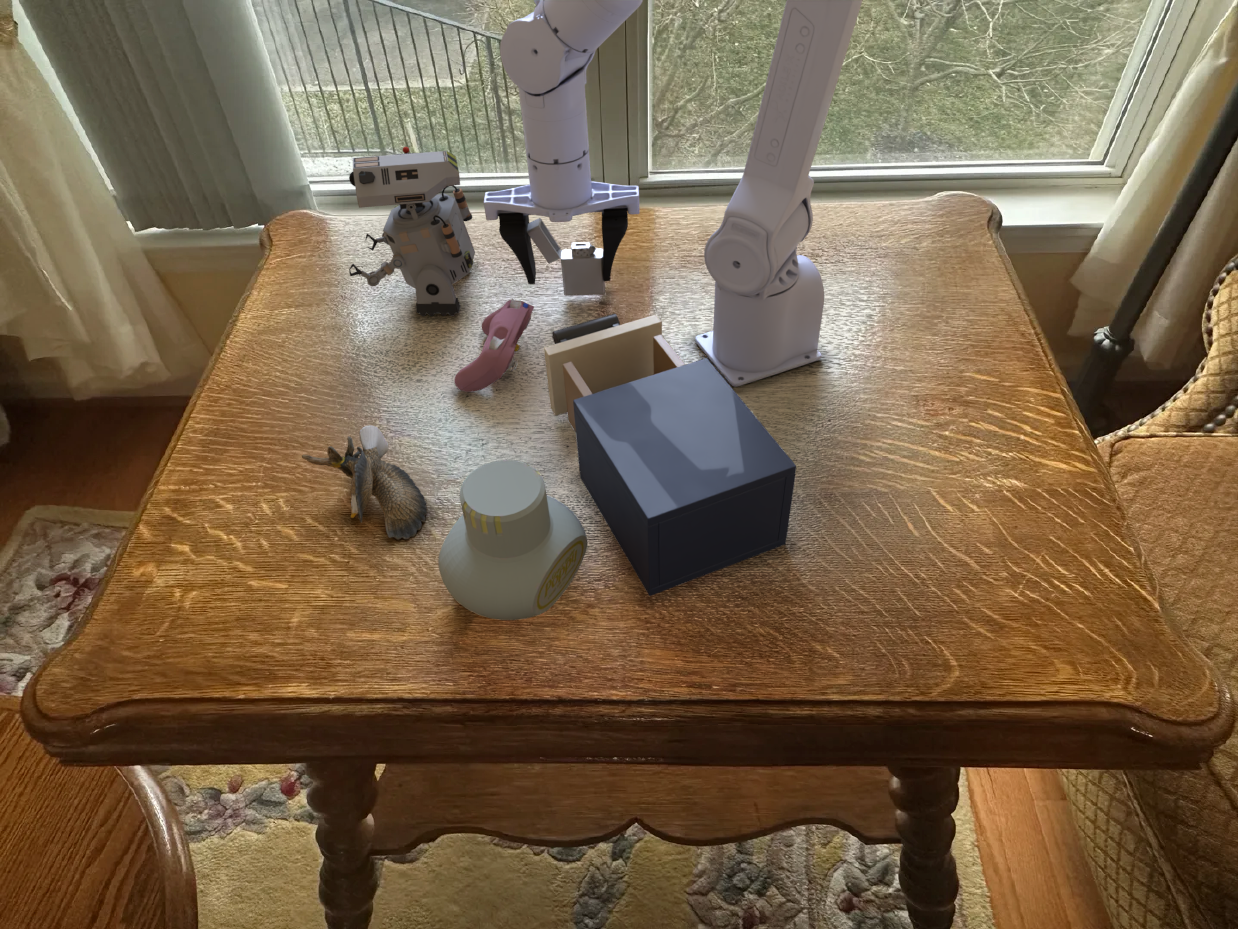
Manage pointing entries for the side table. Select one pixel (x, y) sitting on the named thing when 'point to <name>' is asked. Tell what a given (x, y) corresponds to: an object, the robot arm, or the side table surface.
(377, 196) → the figurine
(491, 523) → the air freshener
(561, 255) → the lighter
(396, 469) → the eagle figurine
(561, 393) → the drawer
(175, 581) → the side table surface
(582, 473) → the cabinet
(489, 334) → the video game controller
